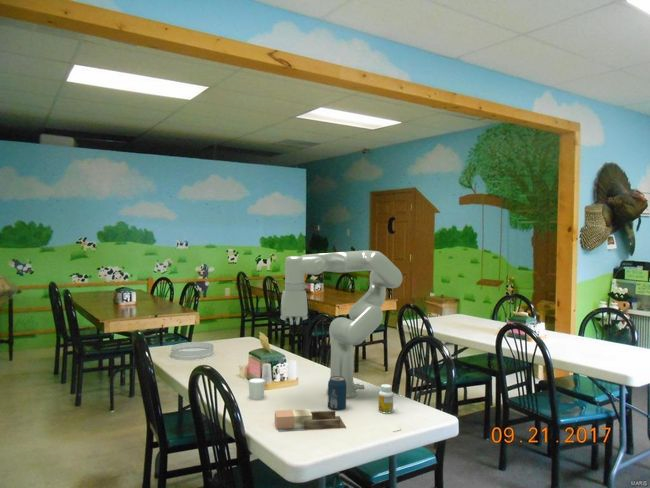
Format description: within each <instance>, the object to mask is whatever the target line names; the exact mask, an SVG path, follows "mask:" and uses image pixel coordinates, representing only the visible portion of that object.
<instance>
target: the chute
mask: <svg viewBox="0 0 650 488" xmlns="http://www.w3.org/2000/svg"><path fill="white" fill-rule="evenodd" d="M310 412H311V414H312V420H305V428H287V429H277V431H278V433H286V432H302V431H303V432H304V431H321V430H338V429H347V426H346V425H345V422H344V421H343V420H342V418H341V416H340V415H336V410H318V411H310Z"/></svg>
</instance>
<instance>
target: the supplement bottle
mask: <svg viewBox="0 0 650 488" xmlns="http://www.w3.org/2000/svg"><path fill="white" fill-rule="evenodd" d="M392 389H393V388H392V385H390V384H388V383H387V384H386V383H384V384H383V383H382V384H381V385H380V391H379V392H378V412H379V411H380V412H379V413H381V412H385V413H388V414H390V413H389V412H392V411H394V392H393V391H392ZM385 413H384V414H385ZM392 413H393V412H392Z"/></svg>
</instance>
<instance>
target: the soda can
mask: <svg viewBox="0 0 650 488" xmlns="http://www.w3.org/2000/svg"><path fill="white" fill-rule="evenodd" d="M327 389H328V395H327V408H328V409H329V410H330V411H334V410H335V411H344V410H345V409H346V408H347V398H346V381H345V378H344V377H340V376H333V377H329V380H328V381H327Z"/></svg>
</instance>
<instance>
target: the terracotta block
mask: <svg viewBox="0 0 650 488" xmlns="http://www.w3.org/2000/svg"><path fill="white" fill-rule="evenodd" d="M292 410H293V409H287V410H286V409H285V410H274V425H275V429H276V430H278V429H287V428H294V417H295V416H294V414H293V411H292Z"/></svg>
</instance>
